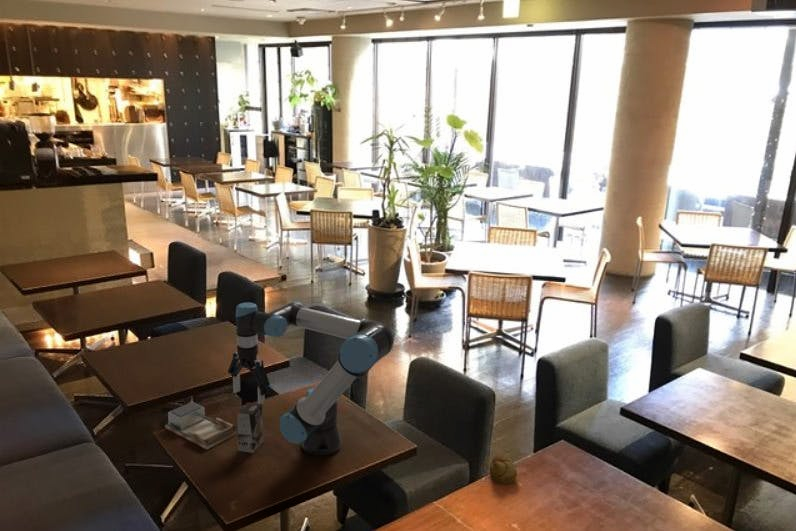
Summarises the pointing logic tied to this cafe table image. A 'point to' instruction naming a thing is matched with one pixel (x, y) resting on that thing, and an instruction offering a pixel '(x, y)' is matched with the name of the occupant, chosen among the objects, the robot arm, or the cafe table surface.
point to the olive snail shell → (502, 469)
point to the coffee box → (250, 427)
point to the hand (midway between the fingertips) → (249, 397)
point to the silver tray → (206, 432)
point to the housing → (186, 415)
